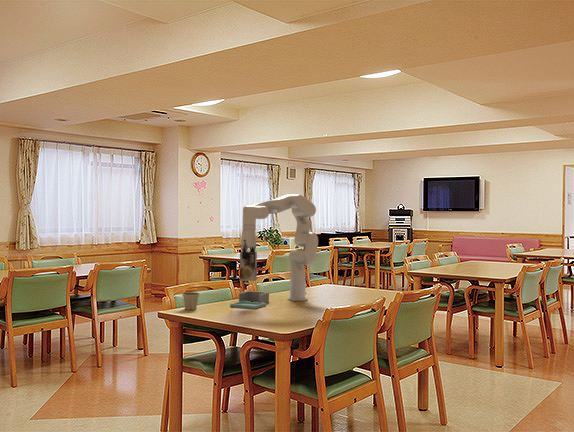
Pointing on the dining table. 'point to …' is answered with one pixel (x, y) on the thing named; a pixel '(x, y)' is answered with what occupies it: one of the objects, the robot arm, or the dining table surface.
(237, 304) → the tray
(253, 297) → the bay
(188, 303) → the flower pot
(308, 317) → the dining table surface
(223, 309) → the dining table surface
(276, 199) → the robot arm
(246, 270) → the coffee box
